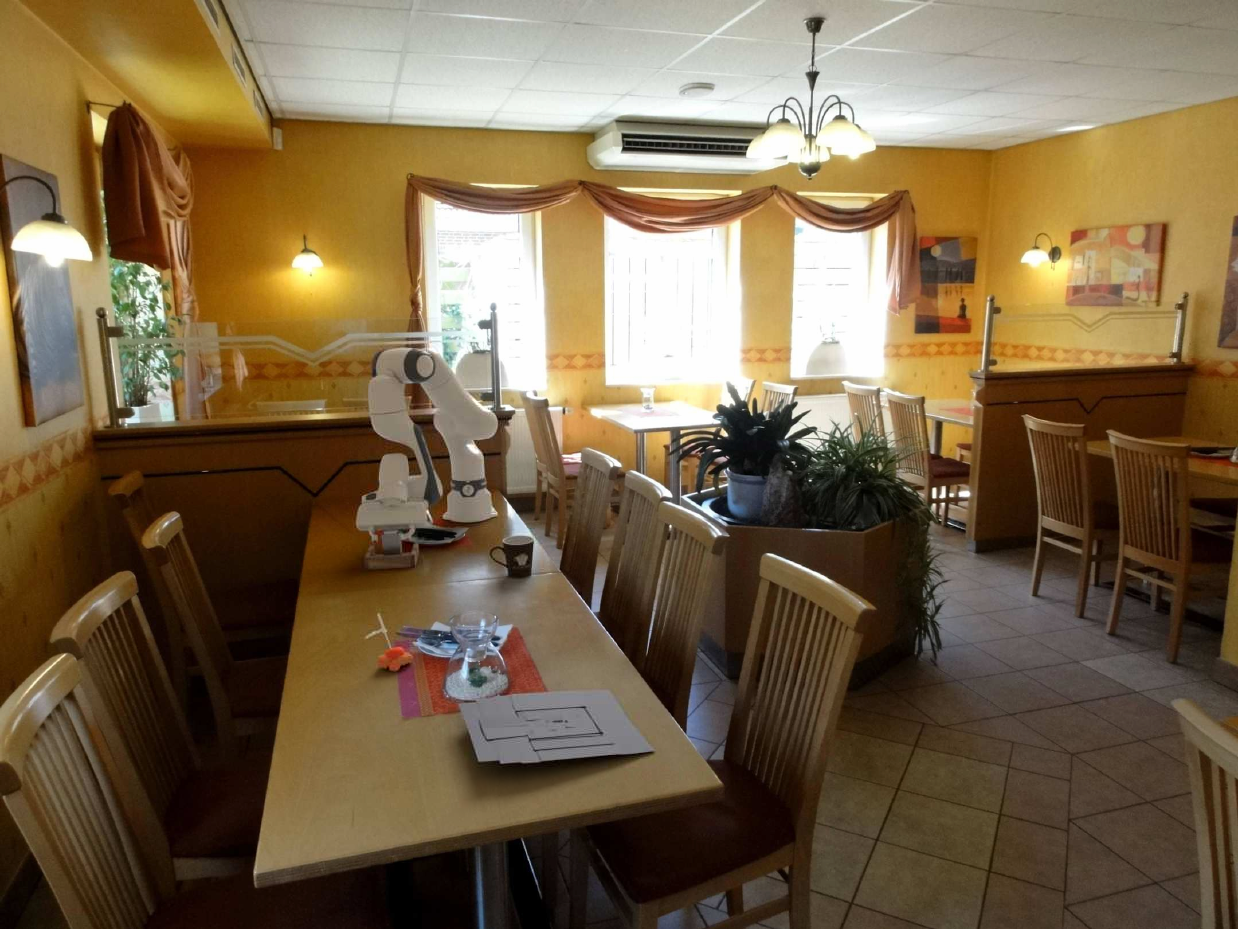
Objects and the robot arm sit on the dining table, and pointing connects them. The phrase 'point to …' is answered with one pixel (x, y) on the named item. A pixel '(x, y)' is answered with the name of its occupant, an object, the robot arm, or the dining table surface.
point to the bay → (390, 559)
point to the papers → (550, 726)
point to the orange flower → (391, 653)
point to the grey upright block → (391, 542)
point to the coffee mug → (517, 555)
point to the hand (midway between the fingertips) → (391, 541)
